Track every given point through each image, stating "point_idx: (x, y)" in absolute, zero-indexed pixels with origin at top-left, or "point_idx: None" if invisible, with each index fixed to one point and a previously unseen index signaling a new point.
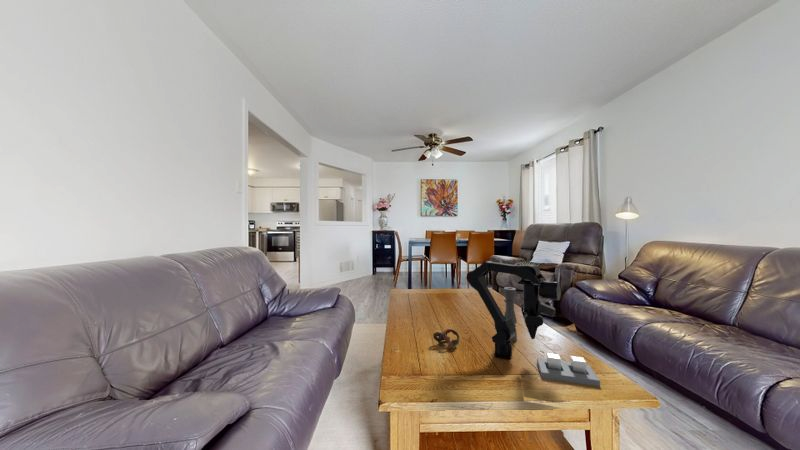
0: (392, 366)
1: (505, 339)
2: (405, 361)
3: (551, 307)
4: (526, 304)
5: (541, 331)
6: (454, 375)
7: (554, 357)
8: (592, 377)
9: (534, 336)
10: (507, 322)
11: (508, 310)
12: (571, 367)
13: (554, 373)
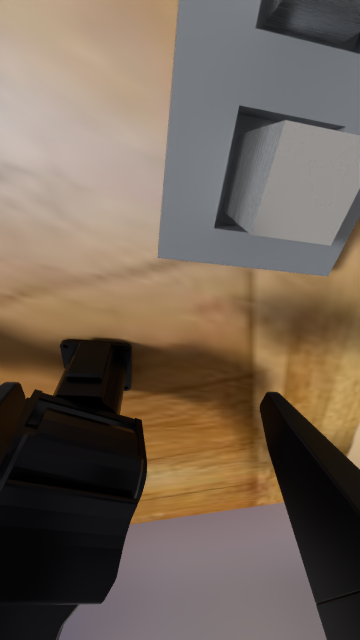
0: (225, 507)
1: (144, 446)
2: (203, 502)
3: None
4: None
5: None
6: (258, 450)
7: (340, 195)
8: None
9: (299, 418)
10: (80, 574)
11: None
12: (306, 6)
13: (356, 211)
